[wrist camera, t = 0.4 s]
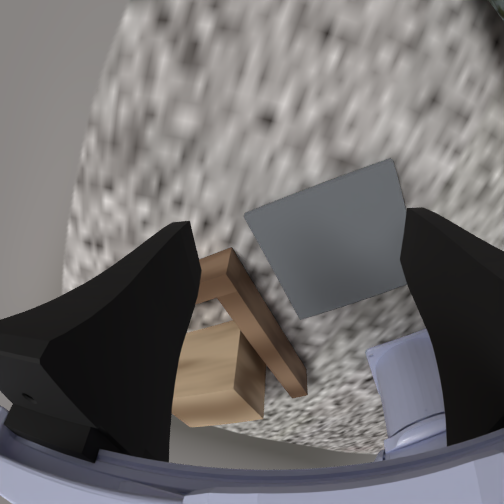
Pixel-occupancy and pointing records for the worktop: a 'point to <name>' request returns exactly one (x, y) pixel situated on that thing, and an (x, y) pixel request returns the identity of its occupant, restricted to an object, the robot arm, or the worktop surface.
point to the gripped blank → (218, 378)
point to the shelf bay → (252, 317)
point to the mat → (335, 239)
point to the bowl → (498, 7)
